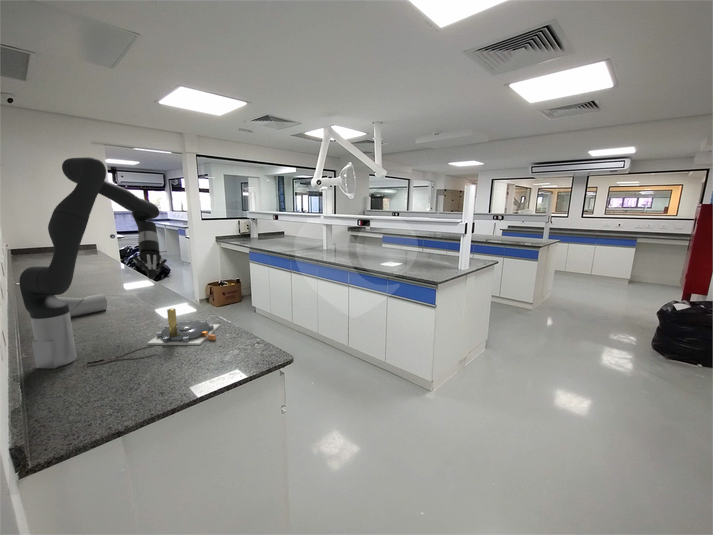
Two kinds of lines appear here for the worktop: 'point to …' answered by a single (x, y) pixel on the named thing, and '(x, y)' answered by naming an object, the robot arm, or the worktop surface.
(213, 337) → the base plate
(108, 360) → the pliers
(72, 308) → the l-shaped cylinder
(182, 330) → the sprocket
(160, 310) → the worktop surface
